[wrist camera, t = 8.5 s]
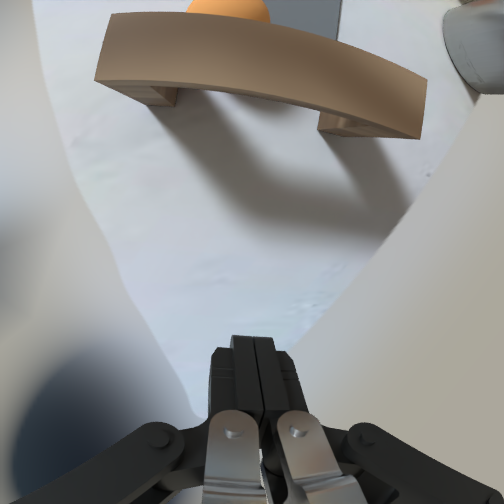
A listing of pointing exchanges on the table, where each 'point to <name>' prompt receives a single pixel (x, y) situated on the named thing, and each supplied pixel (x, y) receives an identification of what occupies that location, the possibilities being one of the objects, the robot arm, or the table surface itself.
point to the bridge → (261, 70)
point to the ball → (232, 8)
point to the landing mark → (306, 15)
